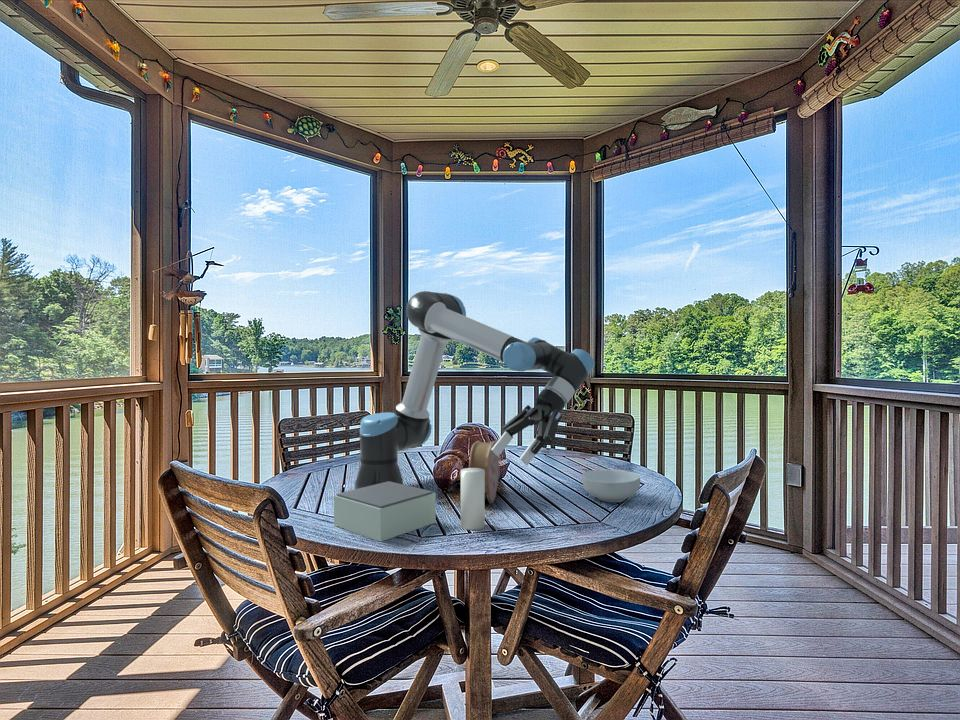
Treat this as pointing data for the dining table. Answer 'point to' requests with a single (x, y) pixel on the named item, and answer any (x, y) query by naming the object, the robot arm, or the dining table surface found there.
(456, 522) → the dining table surface
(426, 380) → the robot arm
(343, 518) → the block
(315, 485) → the dining table surface
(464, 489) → the post
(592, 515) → the dining table surface
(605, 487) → the cereal bowl
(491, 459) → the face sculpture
